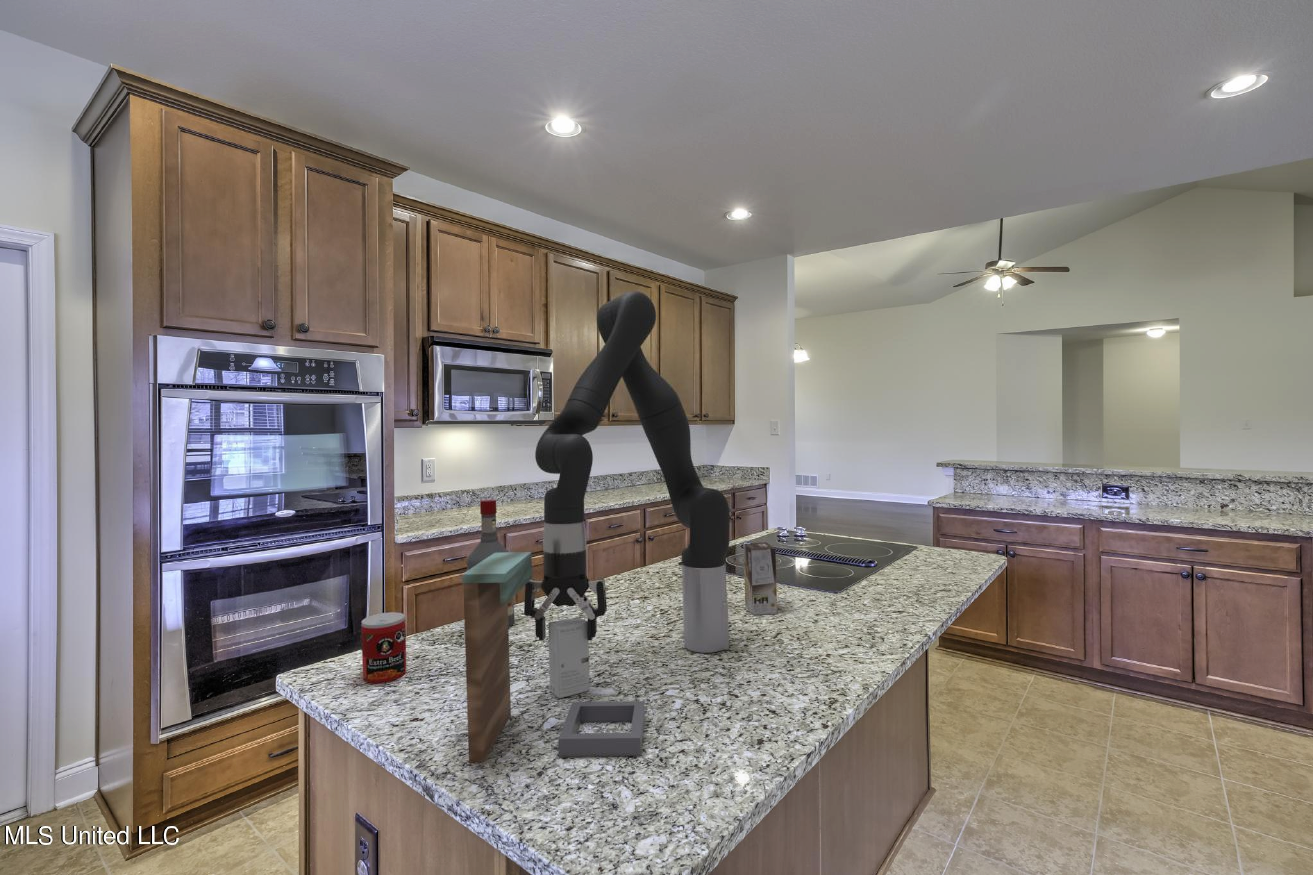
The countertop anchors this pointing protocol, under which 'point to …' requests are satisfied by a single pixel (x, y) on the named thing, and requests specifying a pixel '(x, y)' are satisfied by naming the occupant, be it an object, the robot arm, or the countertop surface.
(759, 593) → the coffee box
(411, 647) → the countertop surface
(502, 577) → the awning stand
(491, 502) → the liquor
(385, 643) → the canned food
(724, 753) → the countertop surface
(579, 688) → the skincare box
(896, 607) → the countertop surface
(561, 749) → the socket
